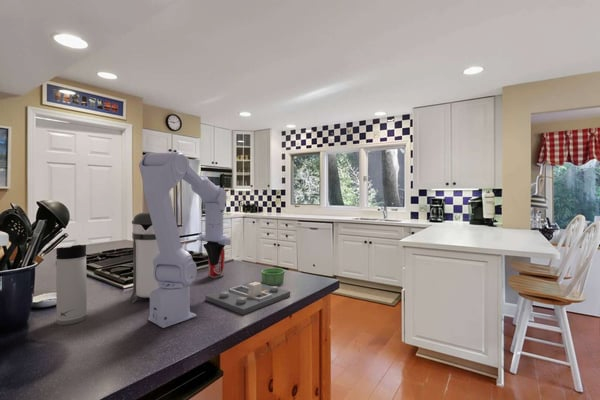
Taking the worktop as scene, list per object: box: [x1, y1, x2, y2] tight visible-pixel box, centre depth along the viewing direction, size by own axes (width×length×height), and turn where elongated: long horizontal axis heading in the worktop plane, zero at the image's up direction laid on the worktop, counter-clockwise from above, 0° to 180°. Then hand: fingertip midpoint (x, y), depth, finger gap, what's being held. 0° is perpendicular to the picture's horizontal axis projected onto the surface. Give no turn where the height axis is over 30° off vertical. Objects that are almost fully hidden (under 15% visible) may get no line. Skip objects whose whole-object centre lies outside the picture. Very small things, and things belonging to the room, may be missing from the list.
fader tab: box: [248, 281, 262, 296], centre depth 95 cm, size 3×2×4 cm
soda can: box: [207, 247, 225, 279], centre depth 122 cm, size 6×6×12 cm
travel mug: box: [55, 244, 88, 326], centre depth 78 cm, size 6×7×20 cm
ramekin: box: [260, 267, 286, 286], centre depth 115 cm, size 9×9×4 cm
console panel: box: [204, 281, 291, 316], centre depth 97 cm, size 20×18×3 cm
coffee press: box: [128, 211, 177, 304], centre depth 98 cm, size 17×16×30 cm
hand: (214, 264), depth 100 cm, fingers closed
